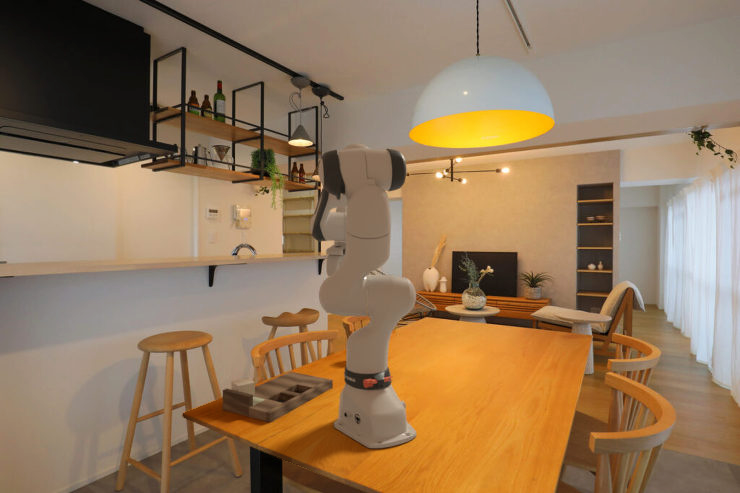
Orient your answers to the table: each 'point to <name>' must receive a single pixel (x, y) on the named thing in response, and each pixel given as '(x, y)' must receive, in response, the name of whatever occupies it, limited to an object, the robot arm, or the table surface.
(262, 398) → the wooden compartment tray
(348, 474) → the table surface
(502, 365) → the table surface
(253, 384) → the block
